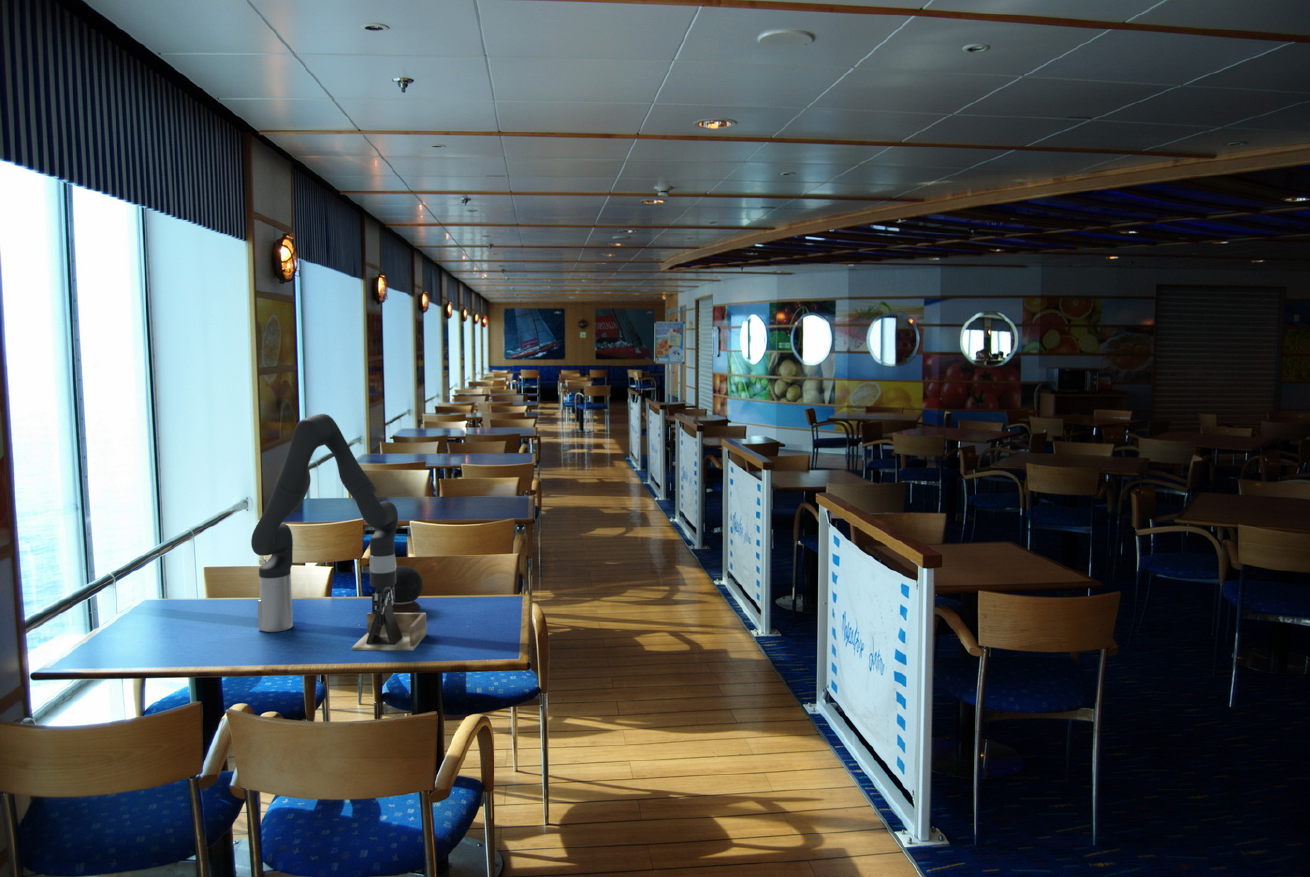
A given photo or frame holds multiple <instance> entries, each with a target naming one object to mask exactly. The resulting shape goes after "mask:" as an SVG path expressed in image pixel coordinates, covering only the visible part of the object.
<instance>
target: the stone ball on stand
mask: <svg viewBox="0 0 1310 877" xmlns="http://www.w3.org/2000/svg"><path fill="white" fill-rule="evenodd" d="M423 586H424V585H423V579H422V576H421V574H420V572H418V570H416V569H415V568H413V567H410V566H407V565H398V566H396V584H395V585H394V589H395V601H394V602H393V605H392V611H393V613H413V612H414V613H418V612H419V611H420V610H421V605H420V604H419V603H418V602H417V601H416V600H417V599H418V598H419V597H420V596H421V593H422V591H423Z"/></svg>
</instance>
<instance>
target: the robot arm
mask: <svg viewBox="0 0 1310 877" xmlns="http://www.w3.org/2000/svg"><path fill="white" fill-rule="evenodd" d="M322 446H325V447H326V448H327V449H328V450H329V451H330V452H331V454H332V455H333V457H334V458H335V462H336V466H337V470H338V475H339V479H340V481H341V483H342V485H343V486H344V488H345V489H346V490H347V492H348V493H349V495H350V496H351V498H353V500H354V501H355V503H356V506H357V508H358V510H359V512H360V514H361V516H362V518H363V520H364V521H365V523H366V524H367V525H368V526H370V527H372V528H374V529H375V530H374V533H373V534H372V535H371V537H370V540H369V585H370V586H371V587H373V588H376V589H375V593H372V595H371V613H372V614H375V620H376V627H382V626H383V625H384V614H383V613H384V608H385V607H386V606H387V601H389V600H390V601H391V602H392V605H393V602H394V601H395V589H394V585H395V584H396V567H397V561H396V560H397V559H396V553H395V552H396V550H395V549H396V548H395V536H396V533H397V526H398V521H399V513H398V510H397V507H396V505H395V504H394V503H393V502H391V501H388V500H384V501H380V502H379V500H378V498H377V497H376V496H377V495H376V494H377V491H378V490H377V487H376V485H375V484H374V483H373V481H372V480H371V479H370V477H369V476H368V475H367V473H366V472H365V471H364V469H363V468H362V466H360V463H359V462H358V460H357V458H356V457H355V455H354V454H353V452H352V450H351V447H350V446H349V444H348V442H347V441H346V439H345V437H344V434H343V433H342V431H341V430H340V428H339V426H338V424H337V422H336V421H335V419H334V418H333V417H331V416H330V415H329V414H326V413H318V414H314V415H312V416H309V417H305V418H302V419H301V420H299V421H298V423H297V424H296V425H295V428H294V430H293V433H292V439H291V442H290V446H289V450H288V452H287V455H286V457H285V460H284V463H283V466H282V468H281V471H280V473H279V476H278V477H277V480H276V482H275V485H274V488H273V490H272V493H271V496H270V498H269V500H268V502H267V505H266V507H265V509H264V510H263V513H262V515H261V517H260V518H259V521H258V522H257V524H256V526H255V528H254V529H253V532H252V534H251V540H250V542H251V544H250V545H251V549H252V551H253V553H255V554H256V555H258V556H264V557H265V556H270V558H269V559H268V560H267V561H266V562H265V563H263V564H262V565H260V567H259V569H258V576H259V578H258V579H259V580H258V581H259V582H258V583H259V599H258V601H257V620H258V621H257V622H258V623H257V624H258V631H262V632H267V633H268V632H269V633H278V632H282V631H287V630H289V629H291V628H293V627H294V626H293V625H294V623H293V621H294V620H293V618H294V617H293V600H292V598H293V597H292V594H293V592H292V579H291V578H292V577H291V576H292V575H291V574H292V572H291V570H292V567H293V566H292V565H293V550H294V545H293V544H294V539H293V533H292V530H291V528H290V527H289V525H288V524H287V523H283V522H284V521H285V520H286V519H287V518H288V517H289V516H291V514H293V513H294V511H295V510H297V508H299V507H300V506H301V504H302V503H303V502H304V500H305V497H306V495H307V493H308V491H309V489H310V486H311V482H312V481H311V480H312V479H311V478H312V477H311V472H310V469H309V464H310V461H311V459H312V457H313V454H314V452H315V451H316V449H318V448H319V447H322ZM378 607H379V610H378Z"/></svg>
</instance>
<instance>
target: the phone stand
mask: <svg viewBox="0 0 1310 877" xmlns="http://www.w3.org/2000/svg"><path fill="white" fill-rule="evenodd" d="M378 610H379V607H378ZM383 614H384V625H385V629H386V632H387V636H388V637H380V632H381V628H382V627H376V620H375V617H374V620H373V623H372V626H371V629H370V632H369V635H368V638H367V641H366V644H381V645H395V644H396V643H397V642H399V641H400V640H401V639H402V638H403V637H402V634H401V632H400V629H399V626H398V624H397V621H396V619H395V616H394V613H393V611H392V602H391V601H390V600H389V601H387V606H386V607H385V608H384V613H383Z"/></svg>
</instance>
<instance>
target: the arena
mask: <svg viewBox="0 0 1310 877" xmlns="http://www.w3.org/2000/svg"><path fill="white" fill-rule="evenodd" d="M394 616H395V619H396V621H397V624H398V626H399V629H400V632H401V634H402V637H403V638H402V639H401V640H400V641H399V642H397V643H396V644H395V645H381V644H366V641H367V638H368V635H369V632H370V629H371V626H372V623H373V620H374V617H375V614H372V612H367V613H366V628H367V630H366V631H367V633H366V634H364V635H363V636H362V637H361V638H360V639H359V640H358V641H357V642H356V643H355V644H354V645H353V646H351V651H414V650H415V649H416V648H417V646H418V645H419V644H420V643H421V641H422V640H424V638H425V637H426V636H427V632H428V631H427V612H414V613H394ZM380 637H388V636H387V632H386V629H385V625H383V626H382V628H381V632H380Z"/></svg>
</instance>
